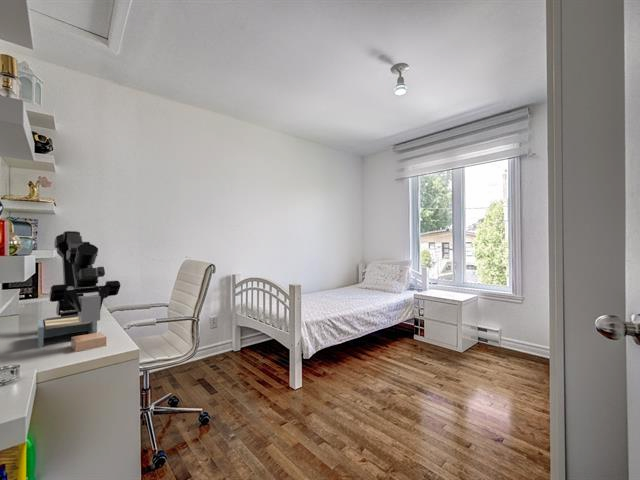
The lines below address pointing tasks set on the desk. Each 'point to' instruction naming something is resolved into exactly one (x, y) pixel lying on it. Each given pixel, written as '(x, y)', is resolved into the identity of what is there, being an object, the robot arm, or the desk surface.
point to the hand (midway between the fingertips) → (90, 310)
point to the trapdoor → (62, 321)
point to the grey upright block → (89, 308)
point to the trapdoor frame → (63, 330)
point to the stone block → (88, 341)
